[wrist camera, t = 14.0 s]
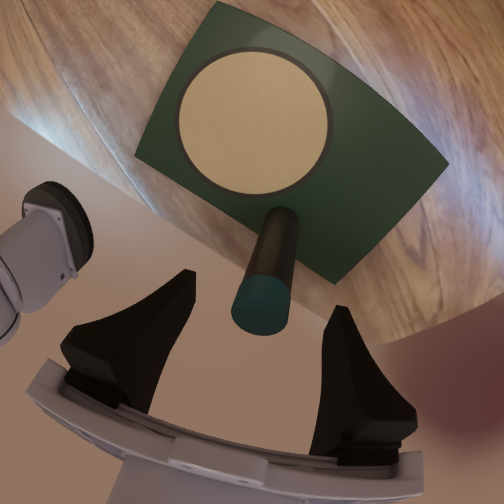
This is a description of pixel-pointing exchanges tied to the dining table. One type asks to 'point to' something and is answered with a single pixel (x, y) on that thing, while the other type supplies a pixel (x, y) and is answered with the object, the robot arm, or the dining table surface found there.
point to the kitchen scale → (287, 140)
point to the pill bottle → (269, 276)
